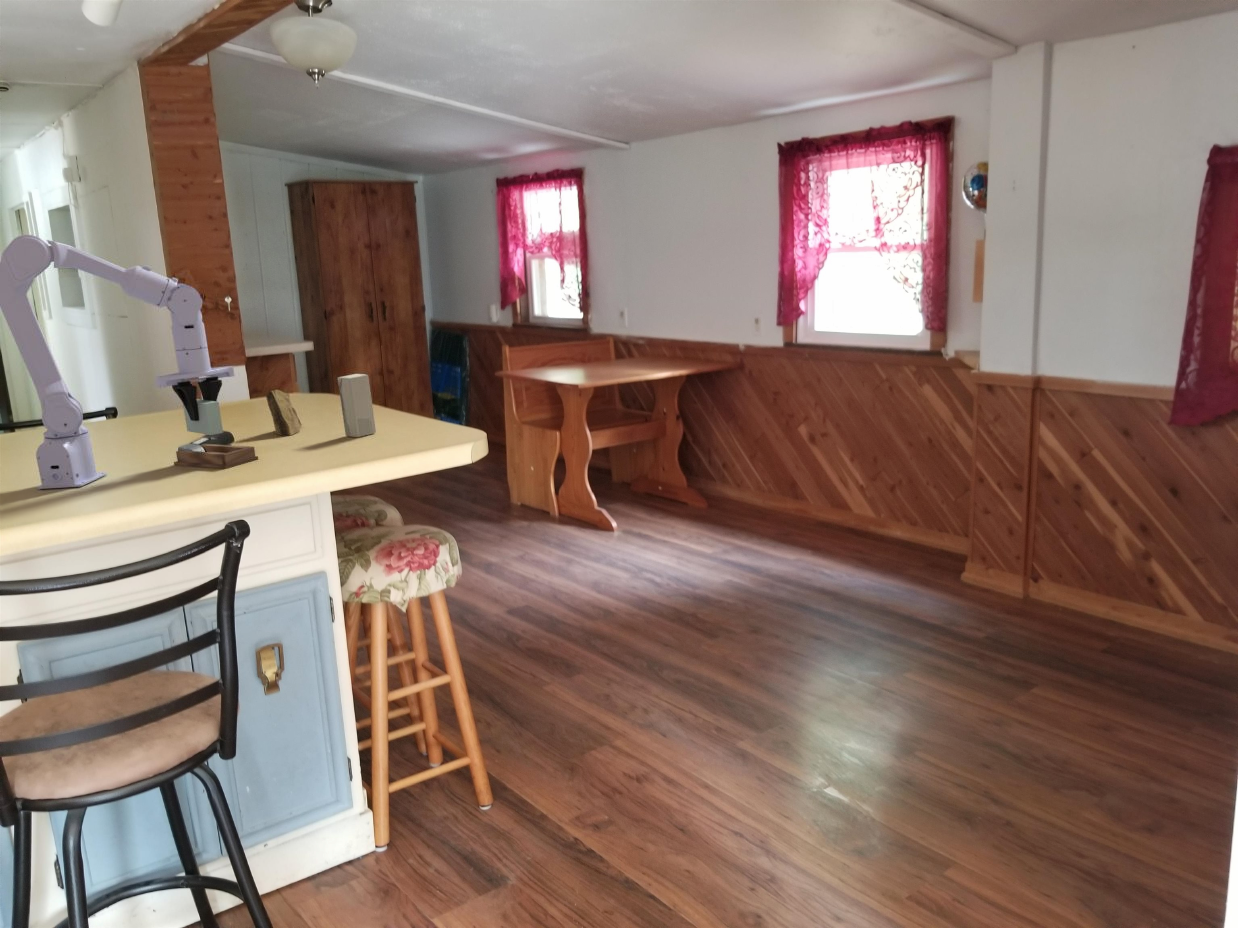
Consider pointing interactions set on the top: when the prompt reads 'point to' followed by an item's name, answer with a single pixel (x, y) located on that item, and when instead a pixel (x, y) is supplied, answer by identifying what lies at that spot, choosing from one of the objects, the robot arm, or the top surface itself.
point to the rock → (283, 413)
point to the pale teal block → (205, 418)
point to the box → (356, 405)
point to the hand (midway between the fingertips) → (202, 418)
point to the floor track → (216, 456)
